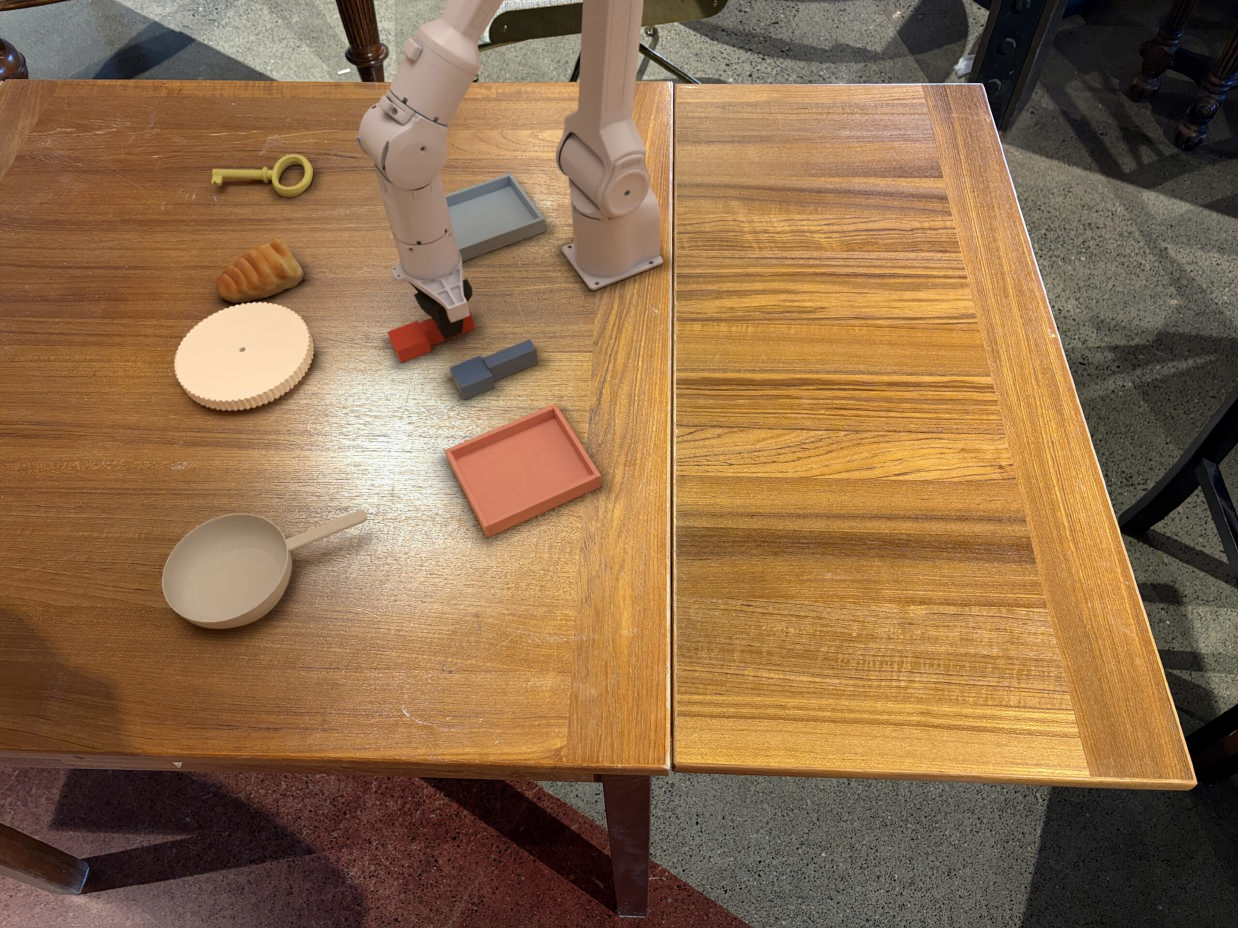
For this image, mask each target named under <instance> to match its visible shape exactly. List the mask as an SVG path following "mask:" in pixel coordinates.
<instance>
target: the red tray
mask: <svg viewBox="0 0 1238 928" xmlns="http://www.w3.org/2000/svg"><path fill="white" fill-rule="evenodd" d="M444 453H445V456H446V460H447V462H448V464H449V466H450V469H451V470H452V473H453V474H454V476H455V478H456V480H457V482H458V484H459V486H460V488H461V490H462V491H463V494H464V496H465V498H466V500H467V501H468V503H469V505H470V507H471V509H472V511H473V513H474V516H475V517H476V519H477V522H478V523H479V525H480V527H481V529H482V530H483V532H484V534H485V537H486V538H487V539H488V538H491V537H492V536H494V535H497V534H499V533H502V532H503V531H506V530H508V529H511V528H512V527H514V526H517V525H519V524H522V523H523V522H525V521H528V520H530V519H532V518H534V517H536V516H539V515H542V514H543V513H546V512H548V511H550V510H553V509H555V508H557V507H559V506H561V505H564V504H566V503H568V502H570V501H573V500H575V499H578V498H579V497H581V496H584V495H585V494H588V493H590V492H592V491H595V490H597V489H599V488H601V487H603V486H602V475H601V473H600V471H599V470H598V468H597V467H596V465H595V464H594V461H593V460H592V459H591V457H590V456H589V454H588V452H587V451H586V449H585V448H584V446H583V444H582V443H581V441H580V439H579V438H578V437H577V435H576V433H575V432H574V430H573V428H572V427H571V425H570V424H569V422H568V421H567V419H566V418H565V416H564V415H563V413H562V411H561V410H560V408H559V406H558V404H557V403H553V404H551V405H549V406H546V407H544V408H542V409H539V410H537V411H534V412H532V413H530V414H527V415H525V416H523V417H520V418H517V419H514V420H513V421H510V422H508V423H506V424H503V425H501V426H499V427H496V428H493V429H492V430H489V431H487V432H484V433H481V434H480V435H476V436H474V437H471V438H470V439H467V440H464V441H462V442H459V443H458V444H455V445H453V446H451V447H447V448H445V449H444Z"/></svg>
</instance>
